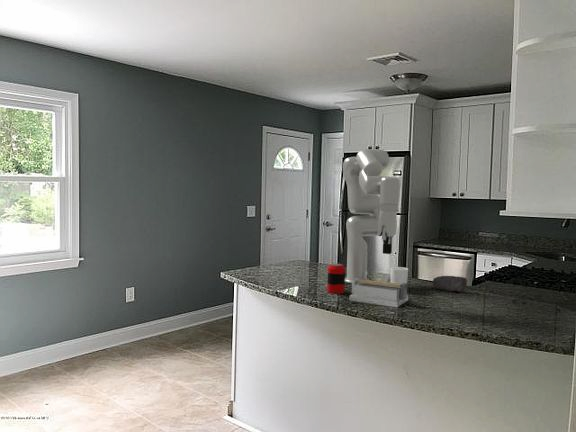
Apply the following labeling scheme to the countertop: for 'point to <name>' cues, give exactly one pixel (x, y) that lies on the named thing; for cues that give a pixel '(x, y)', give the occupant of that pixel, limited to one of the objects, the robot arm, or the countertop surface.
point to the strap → (378, 283)
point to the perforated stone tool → (450, 283)
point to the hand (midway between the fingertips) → (387, 253)
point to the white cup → (398, 275)
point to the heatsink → (379, 294)
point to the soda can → (336, 279)
